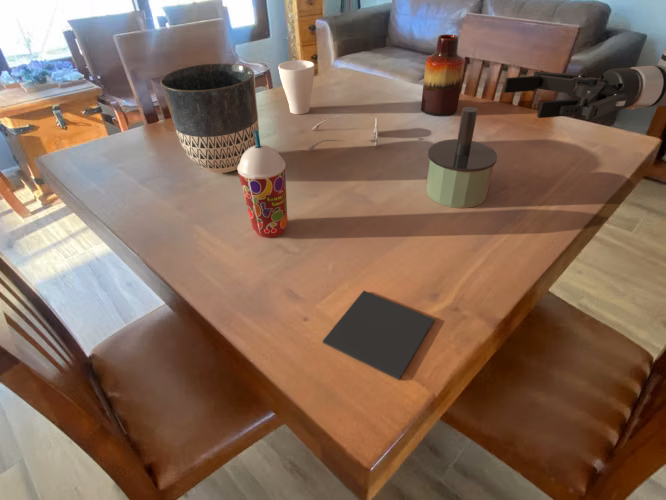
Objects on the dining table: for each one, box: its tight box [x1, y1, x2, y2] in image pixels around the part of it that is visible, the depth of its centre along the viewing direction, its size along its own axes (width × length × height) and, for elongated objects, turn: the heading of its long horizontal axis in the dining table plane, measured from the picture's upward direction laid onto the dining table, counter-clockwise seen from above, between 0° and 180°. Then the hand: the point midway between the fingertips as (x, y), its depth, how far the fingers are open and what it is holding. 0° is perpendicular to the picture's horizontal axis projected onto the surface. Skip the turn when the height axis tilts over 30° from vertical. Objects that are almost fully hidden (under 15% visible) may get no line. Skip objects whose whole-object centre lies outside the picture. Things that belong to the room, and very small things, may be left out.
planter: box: [159, 62, 260, 174], centre depth 97 cm, size 20×20×21 cm
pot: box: [425, 158, 495, 209], centre depth 89 cm, size 13×13×8 cm
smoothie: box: [236, 130, 288, 238], centre depth 77 cm, size 8×8×20 cm
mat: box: [322, 290, 435, 381], centre depth 62 cm, size 12×12×1 cm
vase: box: [420, 33, 466, 117], centre depth 123 cm, size 11×11×20 cm
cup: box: [277, 59, 315, 115], centre depth 128 cm, size 10×10×14 cm
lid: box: [427, 106, 499, 172], centre depth 84 cm, size 14×14×10 cm
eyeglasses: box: [306, 116, 379, 152], centre depth 113 cm, size 15×18×4 cm
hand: (521, 96), depth 80 cm, fingers open, 13 cm apart
